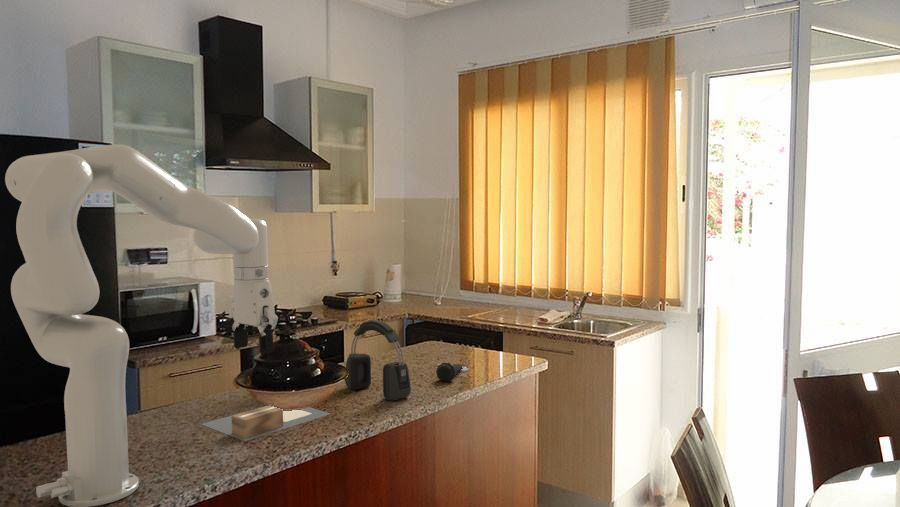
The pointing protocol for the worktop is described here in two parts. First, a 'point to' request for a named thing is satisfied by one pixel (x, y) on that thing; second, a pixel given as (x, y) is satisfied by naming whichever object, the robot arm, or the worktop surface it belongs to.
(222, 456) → the worktop surface
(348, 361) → the headphones
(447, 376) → the microphone
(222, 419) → the mat
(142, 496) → the worktop surface
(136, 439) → the worktop surface
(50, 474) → the worktop surface
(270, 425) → the block
